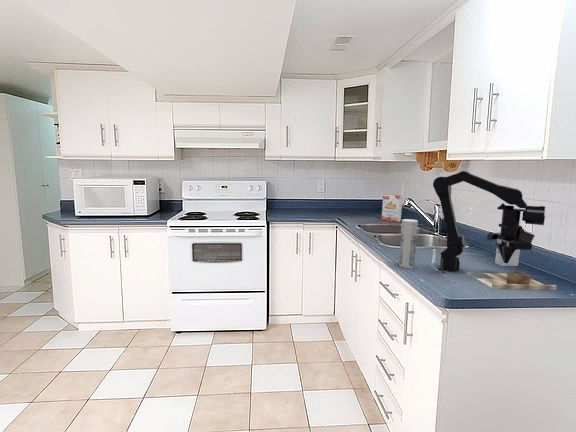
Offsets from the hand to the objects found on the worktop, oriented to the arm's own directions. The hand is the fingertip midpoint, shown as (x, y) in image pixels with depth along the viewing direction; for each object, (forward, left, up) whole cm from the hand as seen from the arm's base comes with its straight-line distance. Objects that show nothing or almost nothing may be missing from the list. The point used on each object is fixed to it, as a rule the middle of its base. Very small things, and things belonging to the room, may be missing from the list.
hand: (505, 263), depth 138 cm
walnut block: (0, -8, -6) cm, 10 cm away
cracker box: (+2, +153, -8) cm, 153 cm away
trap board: (0, -3, -7) cm, 8 cm away
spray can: (-31, +18, -7) cm, 37 cm away
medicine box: (+14, +21, -8) cm, 26 cm away
